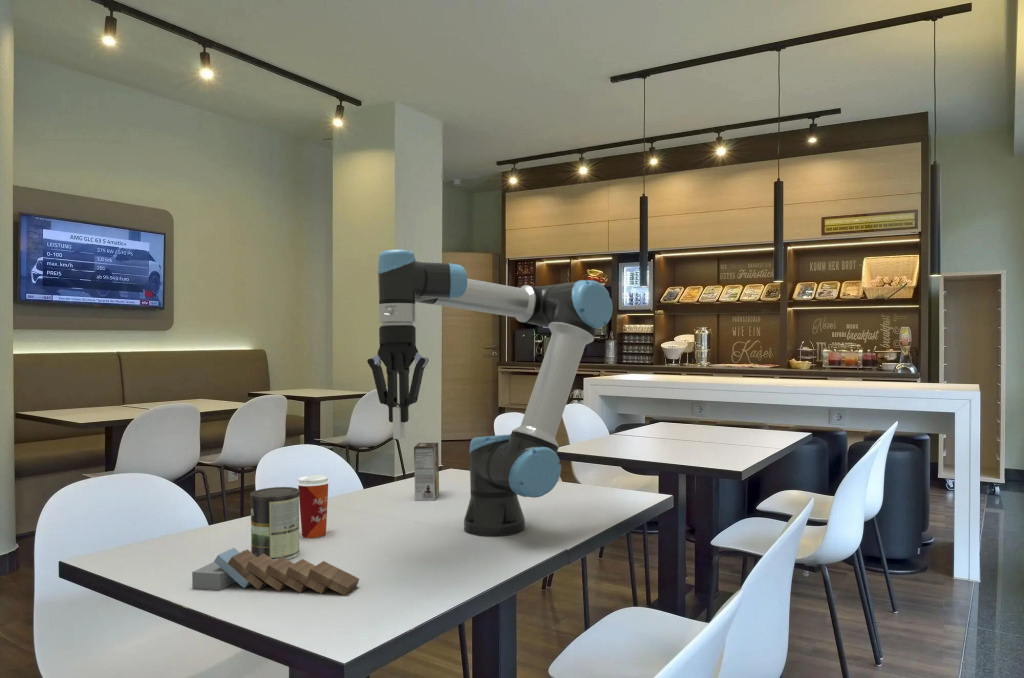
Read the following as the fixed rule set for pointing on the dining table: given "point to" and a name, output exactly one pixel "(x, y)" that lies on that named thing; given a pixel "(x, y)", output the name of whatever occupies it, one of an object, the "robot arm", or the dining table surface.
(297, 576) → the domino
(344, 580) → the domino
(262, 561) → the domino
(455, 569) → the dining table surface
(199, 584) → the block
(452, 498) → the dining table surface
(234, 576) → the domino
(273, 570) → the domino
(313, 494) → the paper cup
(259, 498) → the coffee can
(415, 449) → the coffee box
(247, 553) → the domino
